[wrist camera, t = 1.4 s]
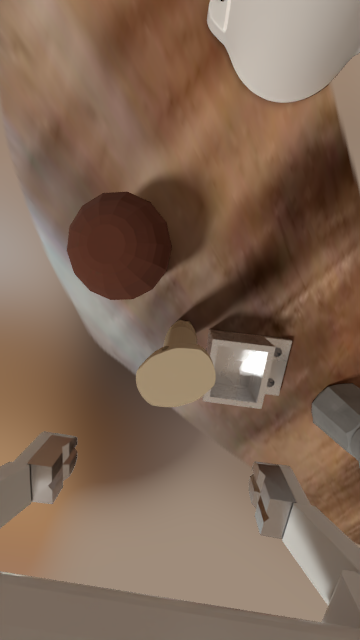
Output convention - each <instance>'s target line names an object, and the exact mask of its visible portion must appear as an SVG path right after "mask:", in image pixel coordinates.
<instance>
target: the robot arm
mask: <svg viewBox="0 0 360 640" xmlns="http://www.w3.org/2000/svg"><path fill="white" fill-rule="evenodd" d="M207 23H208V26H209V28H210V30H211V32H212V33H213V34H214V35H215V36H216V37H217V38H218V40H219V41H220V42H221V43H223V44H224V46H225V47H226V49H227V51H228V54H229V56H230V59H231V62H232V64H233V67H234V69H235V71H236V73H237V75H238V76H239V78H240V79H241V80H242V82H243V83H244V84H245V85H246V86H247V87H248V88H249V89H250V90H251V91H252V92H253V93H255V94H256V95H258V96H260V97H262V98H264V99H266V100H270V101H274V102H282V103H285V102H294V101H299V100H302V99H305V98H307V97H310V96H312V95H313V94H315V93H317V92H318V91H320V90H321V89H323V88H324V87H325V86H327V85H328V84H329V83H330V82H331V81H332V80H333V79H334V78H335V77H336V76H337V75H338V73H339V72H340V71H341V70H342V68H343V67H344V66H345V65H346V63H347V62H348V61H349V60H350V59H351V58H352V57H353V56H355V55H357V54H358V53H360V0H224V1H223V2H222V1H220V0H210V3H209V9H208V15H207ZM76 445H77V437H75V436H69V435H63V434H58V433H50V432H42V433H41V434H40V435H39V436H38V437H37V438H36V439H35V440H34V441H33V442H32V443H31V444H30V445H29V446H28V447H27V448H26V449H25V450H24V451H23V453H21V454H20V455H19V456H18V458H17V459H16V460H15V461H14V462H8V463H6V464H4V465H2V466H0V528H1V527H2V526H4V525H5V524H6V523H7V522H8V521H10V520H11V519H12V518H13V517H15V516H16V515H17V514H18V513H19V512H21V511H22V510H23V509H25V508H26V507H27V506H28V505H30V504H31V502H39V503H48V504H53V502H54V501H55V499H56V497H57V496H58V494H59V493H60V491H61V489H62V488H63V481H64V480H65V479H66V478H68V477H69V476H70V474H71V473H72V471H73V469H74V466H75V464H76V460H77V451H76V449H75V447H76ZM252 470H253V473H254V474H253V475H251V476H250V480H249V494H250V498H251V503H252V504H253V505H254V507H255V508H256V513H255V517H256V521H257V525H258V528H259V532H260V535H263V536H268V537H273V538H279V539H282V541H283V542H284V544H285V545H286V547H287V548H288V550H289V551H290V552H291V554H292V555H293V556H294V558H295V559H296V561H297V562H298V564H299V565H300V567H301V568H302V569H303V571H304V572H305V574H306V575H307V576H308V578H309V579H310V581H311V582H312V584H313V585H314V586H315V588H316V589H317V591H318V592H319V593H320V595H321V596H322V598H323V599H324V601H325V602H326V603H327V605H328V608H327V610H326V613H325V615H324V618H323V620H322V622H315V621H309V620H303V619H296V618H290V617H284V616H278V615H271V614H265V613H258V612H253V611H246V610H240V609H234V608H227V607H221V606H215V605H208V604H202V603H196V602H190V601H184V600H177V599H171V598H165V597H159V596H152V595H146V594H140V593H133V592H127V591H120V590H114V589H108V588H101V587H95V586H89V585H83V584H76V583H70V582H64V581H57V580H51V579H45V578H38V577H32V576H26V575H19V574H13V573H7V572H1V571H0V640H360V548H359V547H358V546H357V545H356V544H355V543H354V542H353V541H352V540H351V539H349V538H348V537H347V536H346V535H345V534H344V533H343V532H342V531H341V530H340V529H339V528H338V527H337V526H336V525H334V524H333V523H332V522H331V521H330V520H329V519H328V518H327V517H326V516H325V515H324V514H323V513H322V512H321V511H319V510H318V509H317V508H316V507H315V506H311V504H310V503H309V501H308V499H307V497H306V495H305V493H304V491H303V489H302V487H301V486H300V484H299V482H298V480H297V478H296V476H295V474H294V472H293V471H292V469H291V468H290V467H289V466H286V465H278V464H277V465H276V464H270V463H262V462H254V463H253V467H252Z"/></svg>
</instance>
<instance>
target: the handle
mask: <svg viewBox="0 0 360 640" xmlns="http://www.w3.org/2000/svg"><path fill="white" fill-rule="evenodd" d="M215 380H216V374H215V369H214V365H213V362H212V359H211V357H210V355H209V354H208V353H207V351H206V350H205V349H204V348H203V347H201V346H200V345H197V337H196V332H195V330H194V328H193V326H192V325H191V323H190V322H189V321H182V320H178V321H176V323H175V324H173V325H172V326H171V328H170V329H169V330H168V332H167V335H166V337H165V342H164V347H162V348H160V349H159V350H157V351H155V352H154V353H153V354H152V355H150V356H149V357H148V358H147V359H146V360H145V361H144V362H143V364H142V365H141V366H140V367H139V369H138V371H137V374H136V383H137V387H138V389H139V392H140V393H141V395H142V397H143V398H144V399H145V400H146V401H147V402H148V403H150V404H151V405H153V406H162V407H177V406H181V405H184V404H188V403H191V402H193V401H196V400H198V399H199V398H201V397H202V396H203V395H204V394H206V393H207V392H208V391H209V390H210V389H211V388H212V387H213V386H214V384H215Z"/></svg>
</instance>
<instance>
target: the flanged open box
mask: <svg viewBox="0 0 360 640" xmlns="http://www.w3.org/2000/svg"><path fill="white" fill-rule="evenodd" d="M291 344H292V340H290V339H285V338H277V337H268V336H260V335H252V334H244V333H236V332H228V331H220V330H212V329H209V335H208V342H207V348H206V351H207V353H208V354H209V355H210V357H211V359H212V362H213V365H214V369H215V374H216V380H215V384H214V386H213V387H212V388H211V389H210V390H209V391H208V392H207V393H206V394H204V395H203V401H206V402H213V403H221V404H228V405H236V406H243V407H251V408H258V409H261V408H262V404H263V400H264V395H265V394H270V395H277V396H279V392H280V388H281V384H282V380H283V376H284V372H285V368H286V364H287V360H288V356H289V352H290V348H291Z"/></svg>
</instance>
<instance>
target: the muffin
mask: <svg viewBox="0 0 360 640" xmlns="http://www.w3.org/2000/svg"><path fill="white" fill-rule="evenodd" d="M171 248H172V245H171V241H170V237H169V232H168V228H167V223H166V221H165V220H164V219H163V218H162V216H161V215H160V214H159V213H158V211H157V210H156V209H155V207H154V206H153V205H152V204H151V202H149V201H146V200H144V199H142V198H140V197H138V196H136V195H133V194H131V193H129V192H115V193H102V194H101V195H99V196H98V197H96V198H94V199H93V200H91V201H90V202H88V203H86V204H85V205H83V206H82V207H81V209H80V210H79V212H78V214H77V215H76V217H75V219H74V220H73V222H72V224H71V225H70V228H69V237H68V246H67V252H68V255H69V258H70V262H71V265H72V268H73V271H74V273H75V275H76V276H77V277H78V278H79V279H80V280H81V281H82V282H83V283H84V285H85V286H86V287H87V288H88V289H89V290H90V291H92V292H94V293H96V294H99V295H101V296H103V297H106V298H108V299H110V300H120V299H134V298H136V297H138V296H140V295H142V294H144V293H146V292H148V291H150V290H152V289H153V288H154V287H155V285H156V284H157V283H158V281H159V280H160V279H161V277H162V276H163V275H164V273H165V272H166V271H167V267H168V262H169V258H170V253H171Z"/></svg>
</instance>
